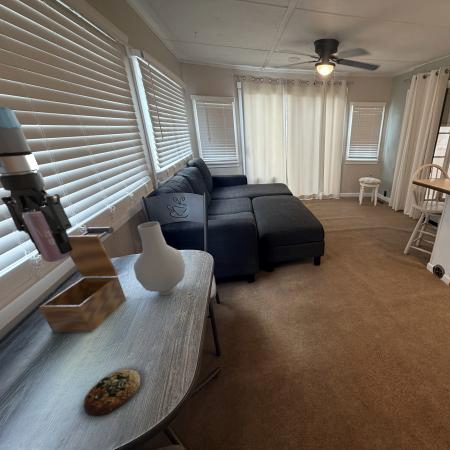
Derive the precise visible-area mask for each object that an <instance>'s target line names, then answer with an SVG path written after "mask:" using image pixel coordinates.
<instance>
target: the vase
mask: <svg viewBox="0 0 450 450" xmlns="http://www.w3.org/2000/svg"><path fill="white" fill-rule="evenodd" d="M137 230H138V233H139V236H140V239H141V246H142V247H141V248H142V252H141V253H140V255H139V256H138V257H137V259H136V260H135V262H134V263H133V270H134V274H135V279H136V280H137V281H138V282H139V284H140V285H141V286H142V287H143V289H145V291H147V292H152V293H154V292H157V293H158V294H159V295H160V296H167V295H170V294H172V293H174V292H175V291H176V290H177V285H179V284H180V283H181V282H182V281H183V280H184V277H185V273H186V263H185V260H184V257H183V254H182V251H180V250H178V249H177V248H174V247H172V246H171V245H168V244H167V242H166V240H165V237H164V235H163V232H162V228H161V224H160V222H158V221H147V222H144V223H141V224H139V225H138V226H137Z"/></svg>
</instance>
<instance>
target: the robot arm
mask: <svg viewBox="0 0 450 450" xmlns="http://www.w3.org/2000/svg"><path fill="white" fill-rule="evenodd" d="M39 169H40V167H39V165H38V163H37V161H36V158H35V156H34V154H33V152H32V150H31V147H30V145H29V143H28V140H27V138H26V136H25V133H24V130H23V128H22V124H20V121H19V120H18V118H17V116H16V114H15V112H14V111H13V110H12V109H11V108H9V107H6V106H0V185H1V186H2V188H3V190H4V191H9V192H10V195H7V196H3V197H1V201H2V202H3V204H4V205H5V206H6V208H7V210H8V212H9V214H10V217H11V219H12V222H13V223H14V226H15V228H16V231H18V232H20V233H21V232H24V233H26V234H27V235H28V237H29V239H30V241H31V243H32V244H33V245H34V247H35V249H36V251H37V253H38V254H39V255H40V256H42V255H41V253H40V251H39V249H38V247H37V245H36V243H35V241H34V239H33V237H32V235H31V233H30V231H29V229H28V227H27V225H26V223H25V221H24V219H23V217H22V216H23V214H22V212H26V211H29V210H33V209H35V211H41V213H42V214H43V215H44V217H45V219H46V222H47V223H48V224H49V225H50V227H51V228H52V229H53V230H54V232H53V236H54V239H55V241H56V243H57V245H58V247H59V249H60V252H61V254H66V253H68V252H69V251H71V250H73V249H72V247H71V245H70V242H69V237H68V236H69V234H68V232H67V230H68V229H69V230H70V229H71V228H72V227H73V225H72V223H71V221H70V219H69V217H68V215H67V213H66V211H65V209H64V207H63V205H62V203H61V196H60V195H59V194H58V193H56V194H50V193H48V192H47V191H46V190H45V188H44V186H45V185H46V182H45V179H44V177H43V175H42V173H41V172H40V171H39ZM58 227H59V228H58Z"/></svg>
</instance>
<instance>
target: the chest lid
mask: <svg viewBox="0 0 450 450" xmlns="http://www.w3.org/2000/svg"><path fill="white" fill-rule="evenodd" d="M114 232H115V228H114V227H112V226H92V227H87V228H86V231H85V232H84V233H82V234H80V235H68V237H69V242H70V245H71V247H72V249H73V250H71V255H70V256H69V257H70V259H71V260H72V262H73V263H74V266H75V267H76V269H77V271H78V272H79V273H80V275H81V277H82V278H83V277H98V276H105V277H118V275H119V274H118V272H117V270H116V268H115V266H114V264H113V262H112V260H111V258H110V256H109V254H108V252H107V249H106V248H105V246H104V244H103V242H102V240H101V239H102V238H103V237H105V236H106V235H109V234H110V235H112V234H113V233H114Z"/></svg>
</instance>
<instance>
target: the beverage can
mask: <svg viewBox="0 0 450 450" xmlns="http://www.w3.org/2000/svg"><path fill="white" fill-rule="evenodd" d="M22 214H23V216H22V217H23V219H24V221H25V223H26V225H27V227H28V229H29V231H30V233H31V235H32V237H33V239H34V241H35V243H36V245H37V247H38V249H39V251H40V253H41V255H40V256H41V257H42V259H43V261H45V262H48V263H53V262H54V263H55V262H59V261H63V260H65V259H67V258H69V257H70V255H71V251H69V252H68V253H66V254H61V252H60V249H59V247H58V245H57V243H56V241H55V239H54V236H53V232H54V230H53V229H52V228H51V227H50V225H49V224H48V223H47V222H46V219H45V217H44V215H43V214H42V213H41V211H35V209H33V210H29V211H26V212H22ZM58 228H59V227H58Z"/></svg>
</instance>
